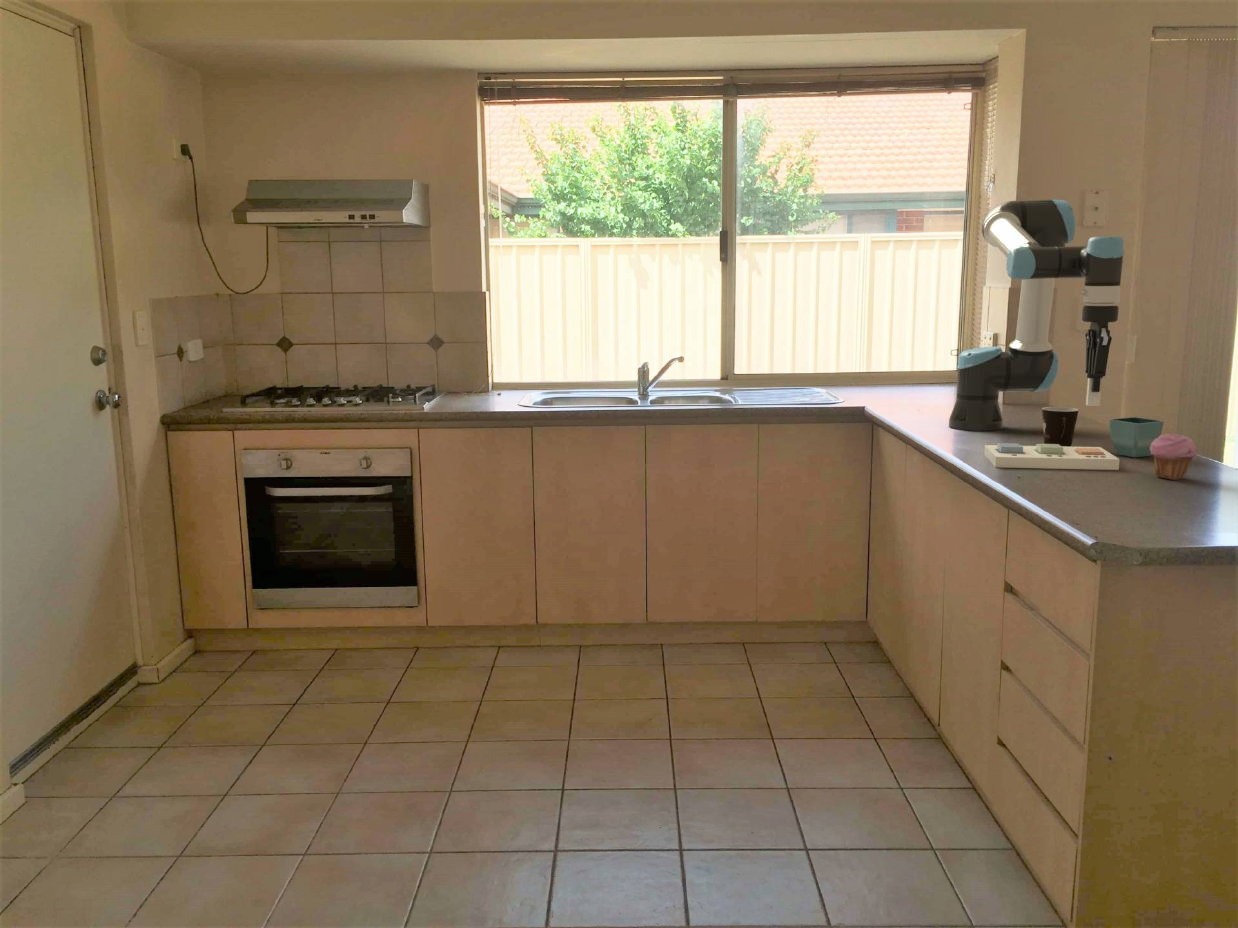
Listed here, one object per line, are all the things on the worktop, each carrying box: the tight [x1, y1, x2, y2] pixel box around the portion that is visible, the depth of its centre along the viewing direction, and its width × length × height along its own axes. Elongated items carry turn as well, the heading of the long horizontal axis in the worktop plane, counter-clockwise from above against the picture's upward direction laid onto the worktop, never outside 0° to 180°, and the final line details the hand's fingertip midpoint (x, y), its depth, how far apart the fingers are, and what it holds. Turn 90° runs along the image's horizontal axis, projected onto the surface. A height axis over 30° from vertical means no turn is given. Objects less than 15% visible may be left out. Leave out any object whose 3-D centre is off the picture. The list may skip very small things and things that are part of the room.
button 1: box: [996, 442, 1023, 454], centre depth 238 cm, size 5×5×3 cm
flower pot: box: [1108, 416, 1165, 459], centre depth 242 cm, size 9×9×9 cm
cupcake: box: [1150, 433, 1197, 481], centre depth 216 cm, size 9×9×10 cm
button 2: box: [1035, 443, 1063, 454], centre depth 236 cm, size 5×5×3 cm
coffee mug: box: [1041, 406, 1079, 447], centre depth 254 cm, size 12×9×10 cm
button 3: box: [1075, 448, 1104, 455], centre depth 235 cm, size 5×5×3 cm
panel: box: [983, 444, 1120, 471], centre depth 237 cm, size 16×27×3 cm, turn 79°
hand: (1092, 405), depth 233 cm, fingers closed
